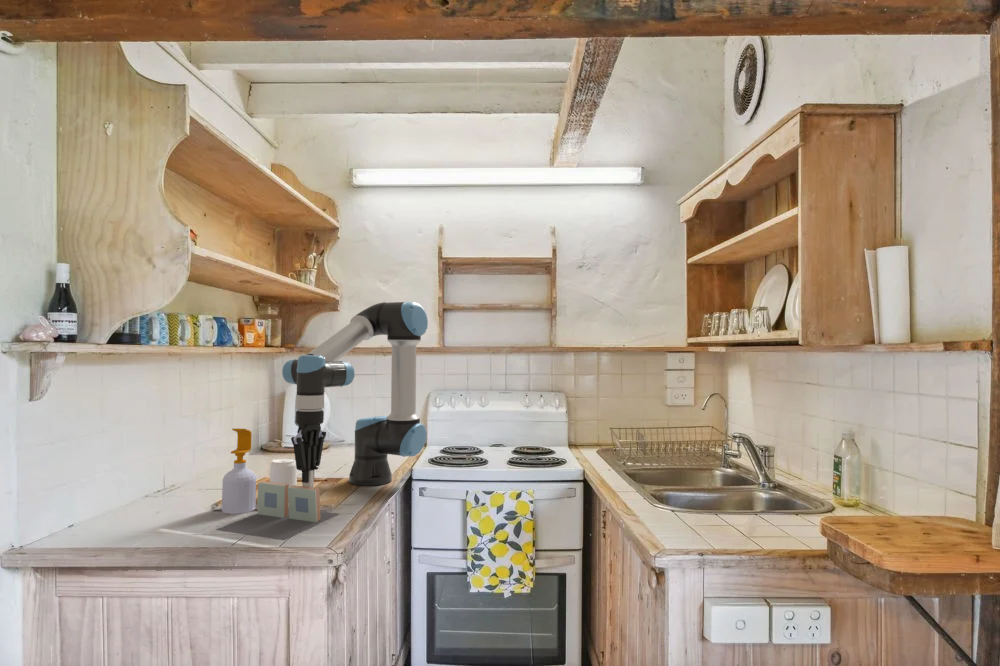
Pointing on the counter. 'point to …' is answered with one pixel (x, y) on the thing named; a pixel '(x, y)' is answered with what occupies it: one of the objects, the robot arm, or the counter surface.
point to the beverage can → (283, 471)
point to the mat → (273, 526)
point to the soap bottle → (239, 479)
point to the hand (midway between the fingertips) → (307, 493)
